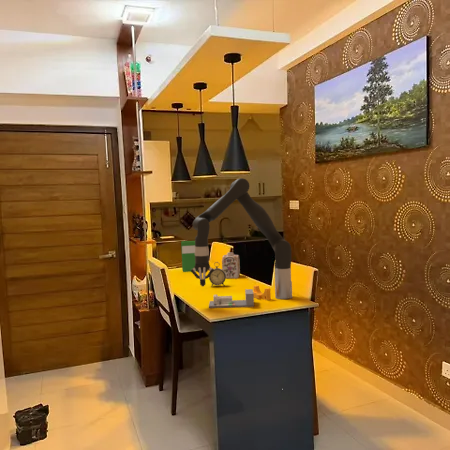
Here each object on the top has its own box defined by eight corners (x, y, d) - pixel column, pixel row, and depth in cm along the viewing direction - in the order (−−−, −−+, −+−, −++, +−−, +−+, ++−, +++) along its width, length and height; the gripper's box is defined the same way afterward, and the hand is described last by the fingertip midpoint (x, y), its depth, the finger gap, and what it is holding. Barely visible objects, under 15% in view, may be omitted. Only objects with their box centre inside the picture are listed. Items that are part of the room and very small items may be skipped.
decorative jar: (222, 278, 302) (221, 253, 301) (224, 275, 314) (223, 251, 313) (238, 278, 301) (237, 253, 299) (240, 275, 312) (239, 251, 311)
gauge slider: (232, 301, 230) (231, 294, 230) (232, 304, 222) (231, 297, 222) (214, 301, 230) (213, 294, 230) (213, 305, 222) (213, 298, 222)
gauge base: (252, 301, 233) (252, 289, 232) (253, 306, 222) (253, 293, 221) (209, 302, 233) (209, 290, 233) (208, 308, 222) (208, 295, 222)
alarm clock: (209, 287, 274) (208, 262, 273) (209, 285, 279) (209, 261, 278) (226, 286, 274) (225, 262, 273) (226, 285, 279) (225, 261, 278)
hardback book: (183, 272, 335) (181, 242, 333) (182, 270, 342) (181, 241, 340) (204, 270, 338) (203, 241, 336) (203, 269, 345) (202, 240, 343)
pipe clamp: (251, 297, 243) (251, 286, 243) (257, 296, 246) (256, 285, 245) (264, 301, 234) (264, 289, 233) (270, 299, 236) (270, 288, 236)
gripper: (214, 253, 230) (215, 284, 231) (190, 253, 230) (191, 284, 231) (213, 255, 222) (214, 287, 223) (189, 255, 222) (190, 287, 224)
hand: (202, 286), depth 227 cm, fingers closed
